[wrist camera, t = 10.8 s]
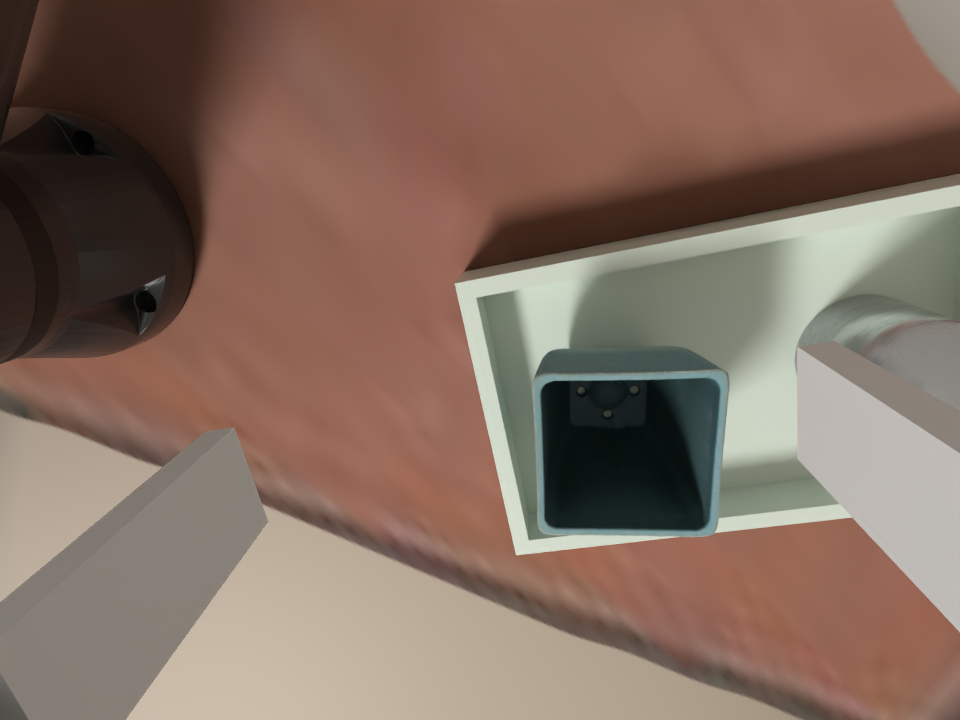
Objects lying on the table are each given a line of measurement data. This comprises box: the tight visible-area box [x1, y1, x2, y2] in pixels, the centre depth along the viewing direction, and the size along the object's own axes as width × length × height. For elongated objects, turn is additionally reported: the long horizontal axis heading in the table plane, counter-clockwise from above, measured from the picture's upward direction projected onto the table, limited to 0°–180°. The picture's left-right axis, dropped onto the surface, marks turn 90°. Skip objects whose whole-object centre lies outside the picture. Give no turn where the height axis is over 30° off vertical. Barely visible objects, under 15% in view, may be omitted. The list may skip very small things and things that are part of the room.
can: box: [795, 294, 960, 411], centre depth 29 cm, size 7×7×8 cm
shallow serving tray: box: [455, 174, 960, 555], centre depth 33 cm, size 28×18×4 cm, turn 102°
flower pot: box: [532, 346, 730, 537], centre depth 30 cm, size 9×9×9 cm
